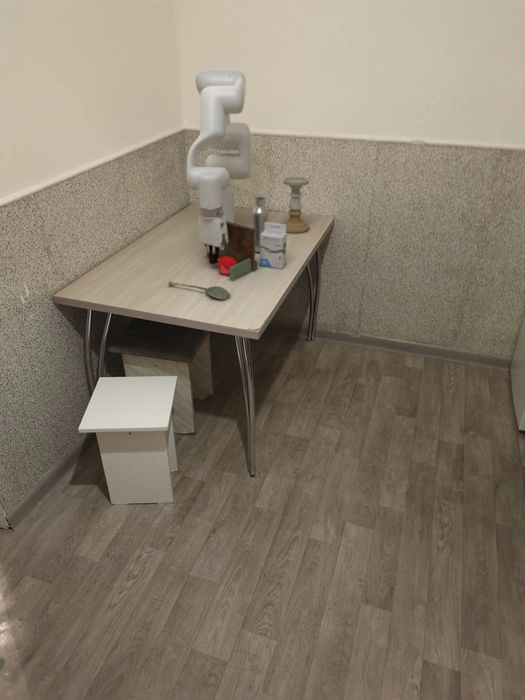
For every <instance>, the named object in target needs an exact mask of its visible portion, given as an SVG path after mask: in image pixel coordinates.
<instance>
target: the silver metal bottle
mask: <svg viewBox="0 0 525 700" xmlns="http://www.w3.org/2000/svg"><path fill="white" fill-rule="evenodd" d="M265 204H266V198H265V197H263V196H262V197H261V196H258V197H255V198H254V206H253V208H252V210H251V211H250V212H251V213H250V215H251V221H252V222H251V223H252V228H254V229H255V253H256V252H257V253H260V234H261V233H262V232H263V231H264V230H265V229H264V223H265V222H269V221H268V220H269V210H268V208H267V206H266V205H265Z"/></svg>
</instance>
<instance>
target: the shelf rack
mask: <svg viewBox="0 0 525 700" xmlns="http://www.w3.org/2000/svg"><path fill="white" fill-rule="evenodd" d="M226 224H227V230H228V243H227V244H225V246H226V249H225V250H220V252H218V253H219V257H223V256H228V257H231V258H234V260H235V261H236V262H237V263H238V264H236V265H234V266H232V267H230V275H229V279H230V281H235V280H237V279H239V278H241V277H244V276H245V275H247V274H249V273H251V272H256V270H257V269H258V260H256V251H255V229H254V228H253V227H250V226H247V225H242V224H240V223H231V222H228V221H226ZM205 248H206V247H205ZM216 248H217V247H216ZM206 250H207V248H206ZM206 257H207V258H209V253H208V252H207V251H206Z"/></svg>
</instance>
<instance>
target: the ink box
mask: <svg viewBox="0 0 525 700" xmlns="http://www.w3.org/2000/svg"><path fill="white" fill-rule="evenodd" d="M264 229H265V230H264V231H263V232H262V233H261V234H260V252H259V266H260V267H267V268H274V269H281V270H282V269H283V268H284V267H285V266H286V263H287V262H286V261H287V236H288V235H287V234H288V232H286V224H282V223H277V222H269V221H268V222H265V223H264Z"/></svg>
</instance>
